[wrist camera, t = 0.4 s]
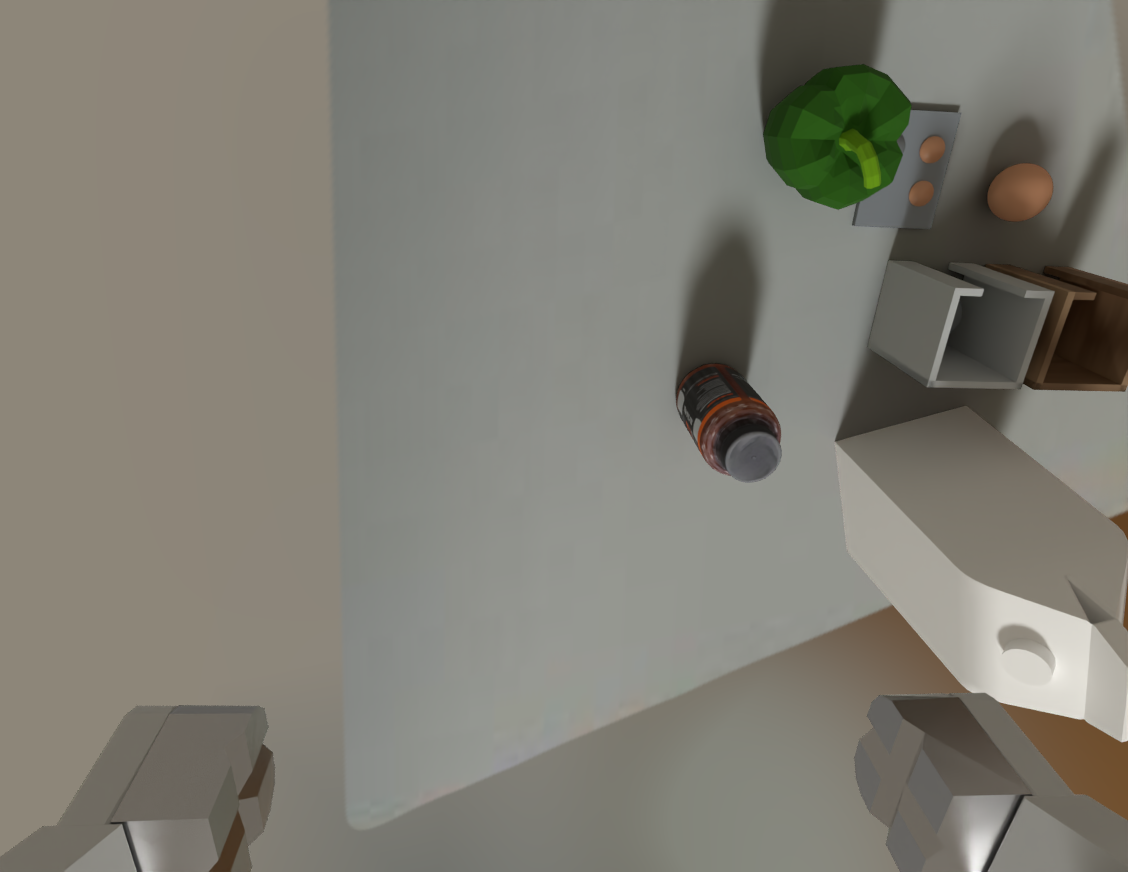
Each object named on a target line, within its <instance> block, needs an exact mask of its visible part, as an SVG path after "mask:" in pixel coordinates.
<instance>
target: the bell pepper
mask: <svg viewBox="0 0 1128 872" xmlns="http://www.w3.org/2000/svg"><path fill="white" fill-rule="evenodd" d="M910 112H911V103H910V101H909V100H908V98H907V97H906V96H905V95H904V94H903V92H902V91H901V90H900V89H899V88H898V87H897V85H896V84H895V83H894V82H893V81H892V79H891V78H890V77H889V76H888V75H887V74H885V73H882V72H880V71H878V70H875V69H873V68H871V67H869V66H866V65H864V64H861V65H852V66H843V67H835V68H829V69H823V70H822V71H820V72H819V73H818V74H816V75H815V76H814V77H812V78H811V79H810V80H809V81H808V82H807V83H806V84H805V85H804V86H799V87H798V88H797V89H795V90H794V91H793V92H791V93H790V94H789V95H788V96H787V97H786V98H785V99H784V100H782V101H781V102H780V103H779V104H778V105H777V106H776V107H774V108H773V109H772V110H771V112H770V115H769V118H768V121H767V124H766V127H765V130H764V133H763V136H764V144H765V151H766V158H767V160H768V162H769V164H770V165H771V166H772V167H773V169H774V170H775V171H776V172H777V173H778V175H779V176H780V177H781V178H782V180H783V181H784V182H785V183H786V185H788V186H791V187H794V188H796V190H797V191H798V192H799V193H800V194H801V195H802V197H803V198H806V199H809V200H811V201H814V202H817V203H820V204H823V205H826V206H829V207H832V208H835V209H841V208H844V207H847V206H850V205H852V204H855V203H858V202H861V201H863V200H865V199H866V198H868V197H870V196H871V195H873V194H875V193H876V192H878V191H880V190H882V189H883V188H885V187H887V186H888V185H890V184H891V183H892V182H893V180H894V177H895V175H896V172H897V169H898V167H899V164H900V162H901V159H902V156H903V154H902V151H901V149H900V147H899V145H898V143H897V140H898V138H899V137H900V136H901V134H902V133H903V131H904V130H905V129H906V127H907V126H908V125H909V119H910Z"/></svg>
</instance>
